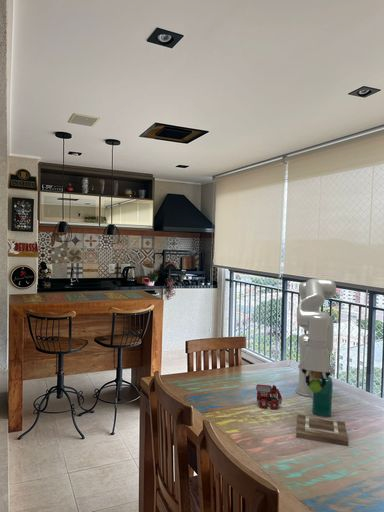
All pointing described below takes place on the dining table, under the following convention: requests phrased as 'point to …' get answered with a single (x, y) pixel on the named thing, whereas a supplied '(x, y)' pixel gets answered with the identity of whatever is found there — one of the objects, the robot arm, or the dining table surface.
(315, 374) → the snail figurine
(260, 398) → the toy fire truck
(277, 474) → the dining table surface
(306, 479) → the dining table surface
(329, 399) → the teal bottle
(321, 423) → the board
